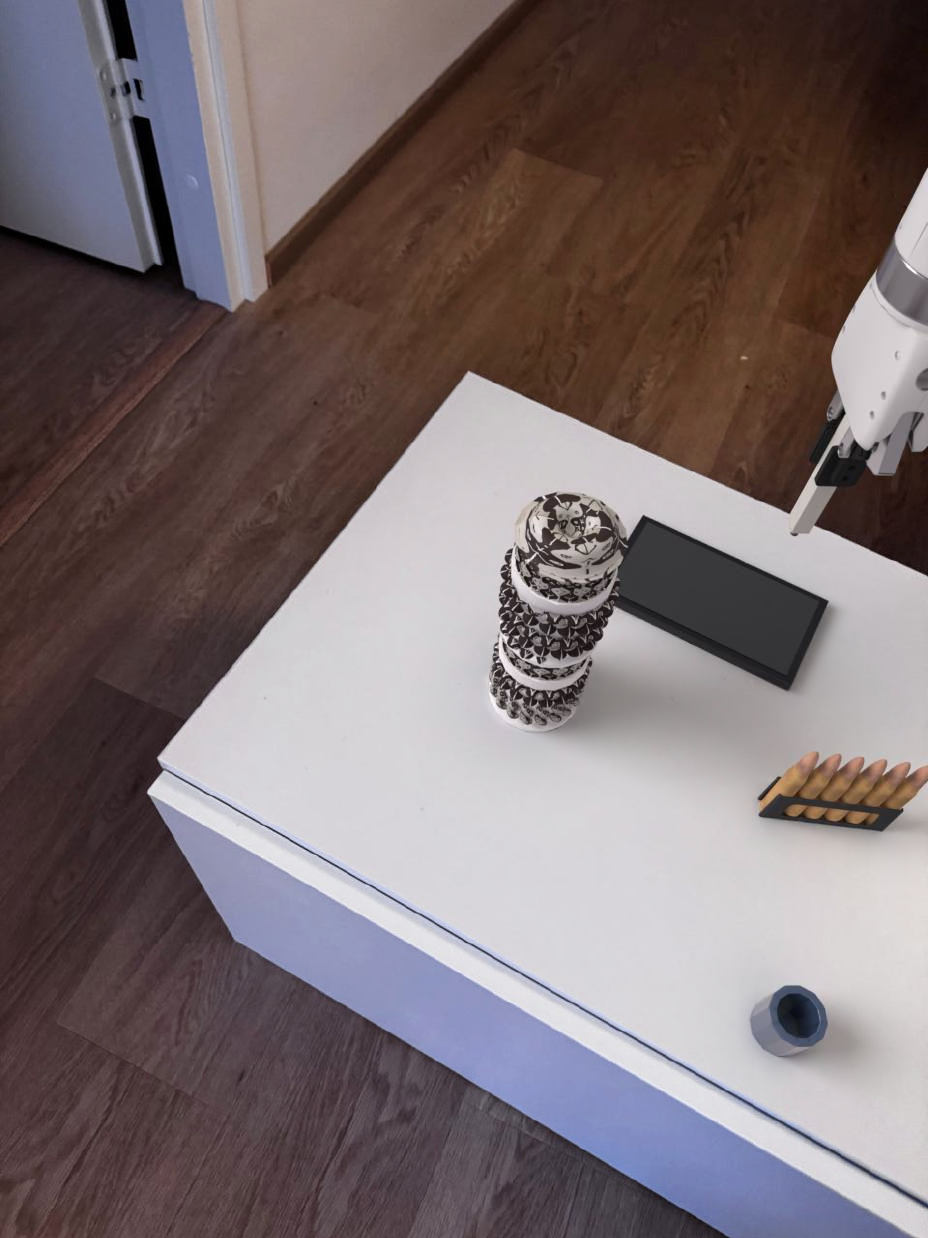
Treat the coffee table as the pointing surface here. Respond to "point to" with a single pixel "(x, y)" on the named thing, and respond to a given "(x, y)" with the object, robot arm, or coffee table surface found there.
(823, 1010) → the holder
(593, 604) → the decorative candle
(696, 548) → the tablet
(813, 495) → the stylus
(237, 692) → the coffee table surface
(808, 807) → the ammunition clip
